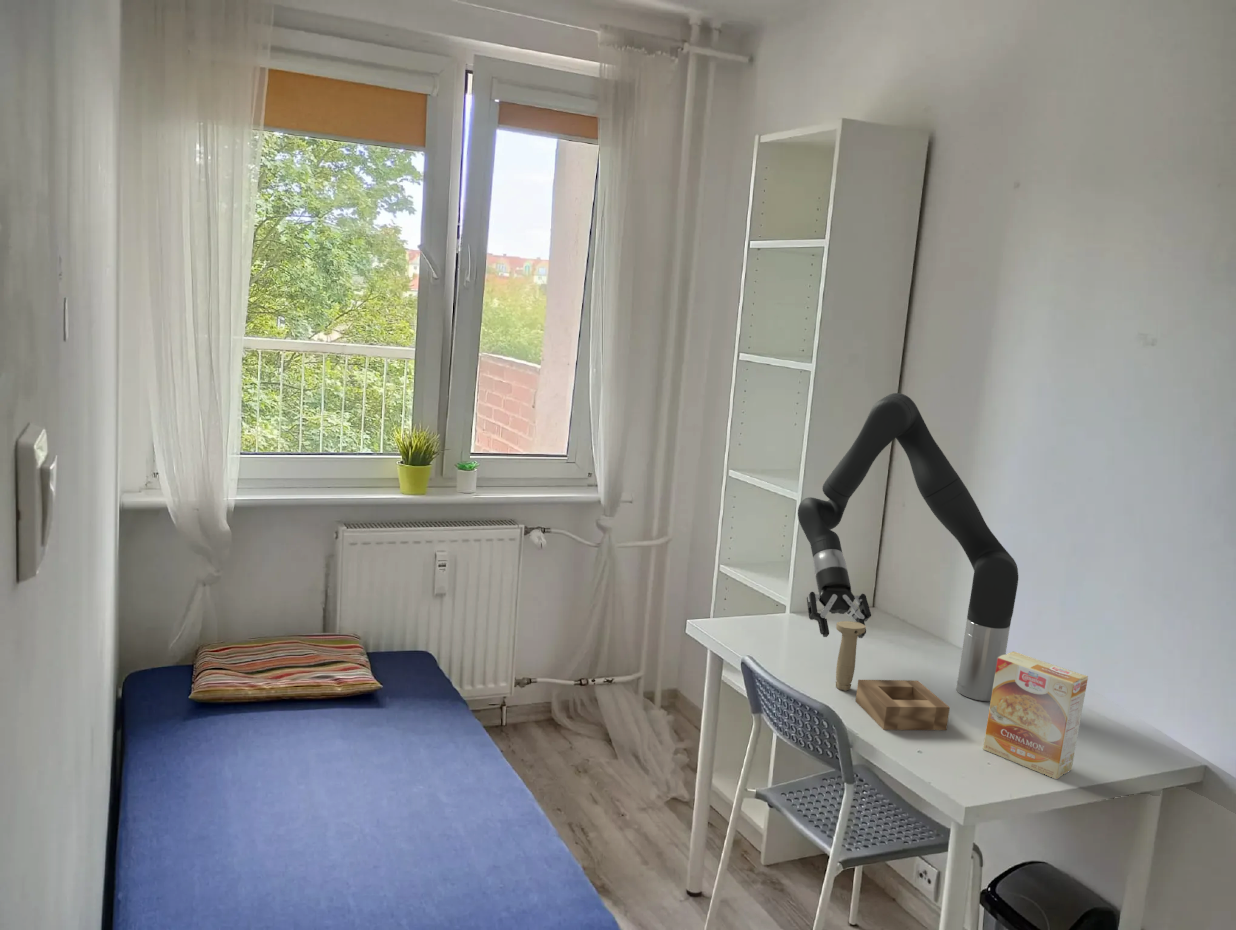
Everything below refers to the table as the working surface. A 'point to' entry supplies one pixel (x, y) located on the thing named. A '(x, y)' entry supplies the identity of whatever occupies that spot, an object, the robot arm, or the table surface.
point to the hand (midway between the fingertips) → (844, 636)
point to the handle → (847, 652)
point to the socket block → (902, 705)
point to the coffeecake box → (1035, 714)
